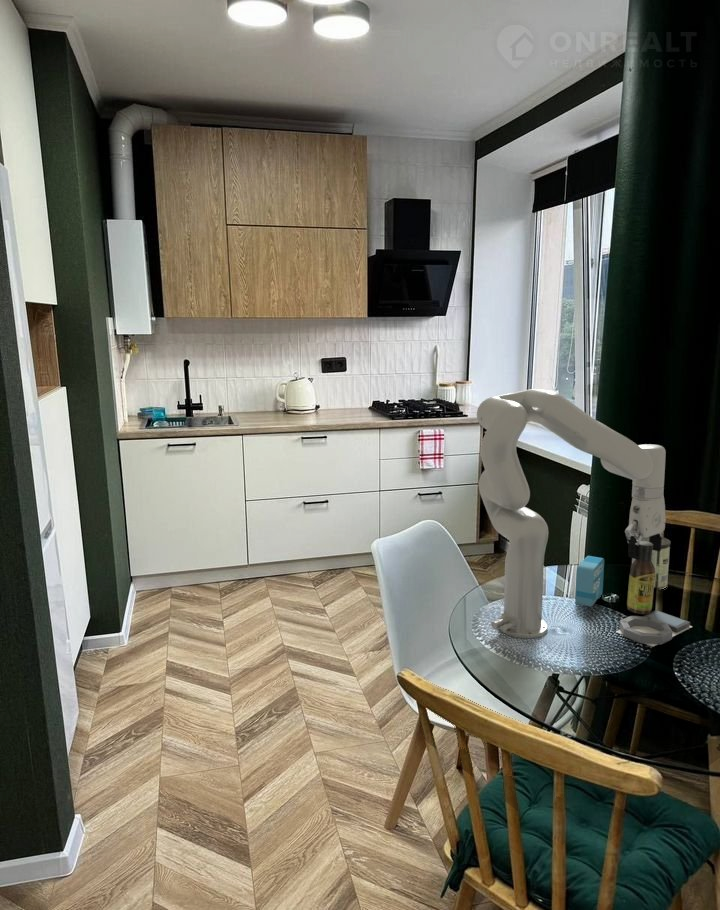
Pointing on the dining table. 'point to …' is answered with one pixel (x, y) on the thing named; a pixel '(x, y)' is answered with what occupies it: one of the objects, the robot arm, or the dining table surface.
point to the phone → (670, 620)
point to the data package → (589, 581)
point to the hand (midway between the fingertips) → (644, 554)
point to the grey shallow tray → (646, 630)
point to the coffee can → (660, 562)
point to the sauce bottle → (641, 581)
